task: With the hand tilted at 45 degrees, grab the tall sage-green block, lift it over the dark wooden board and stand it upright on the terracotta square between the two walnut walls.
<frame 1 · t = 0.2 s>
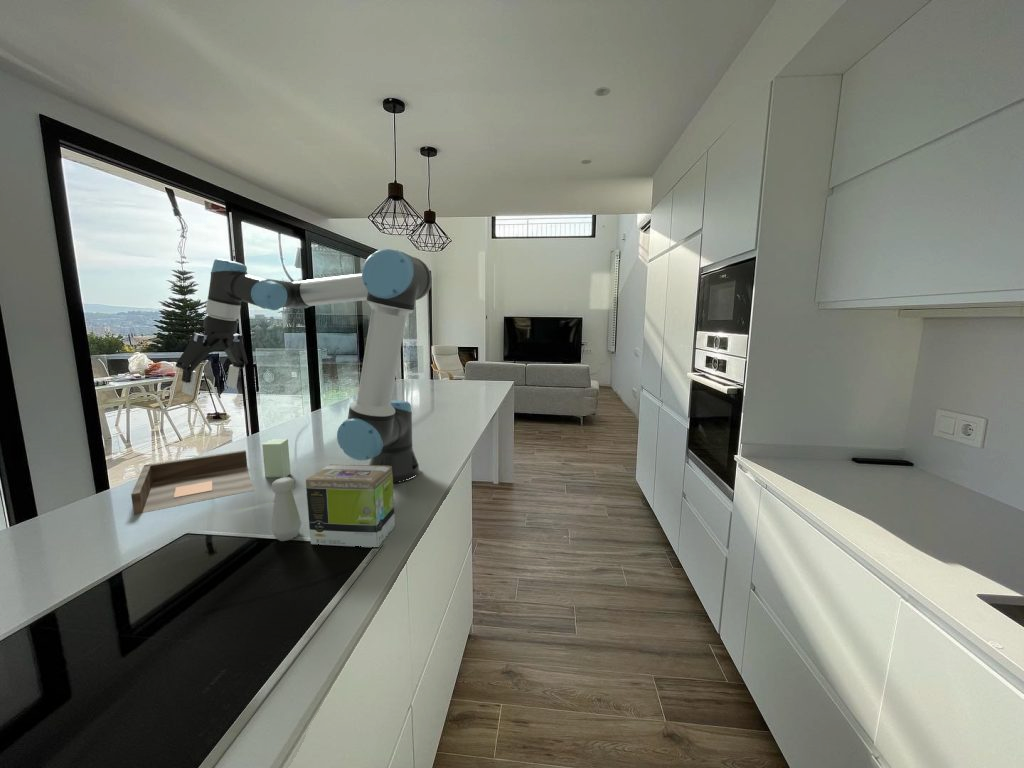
hand: (210, 390, 115), 27 cm above the worktop, tool tilted 15°, fingers open, 13 cm apart
sage block: (278, 477, 123), on the worktop
tea box: (354, 536, 90), on the worktop
salt shaker: (287, 537, 89), on the worktop
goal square: (194, 489, 111), resting on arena
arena: (199, 489, 113), on the worktop
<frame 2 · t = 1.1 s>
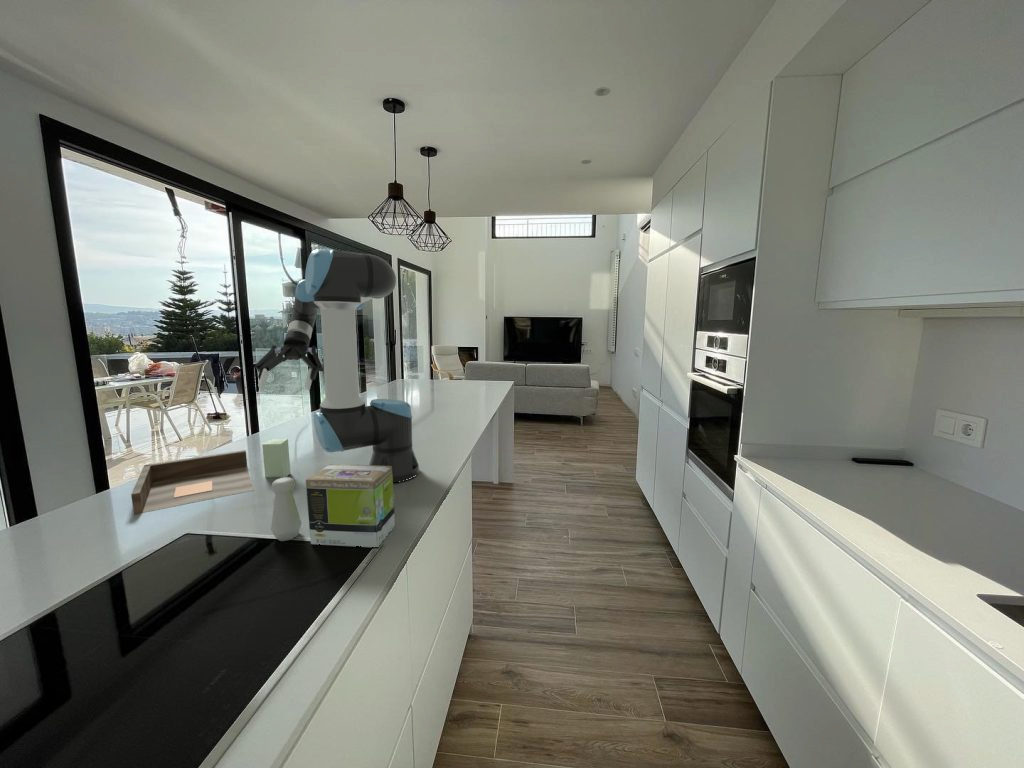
hand: (284, 387, 128), 26 cm above the worktop, tool tilted 45°, fingers open, 13 cm apart
nothing on the worktop moved.
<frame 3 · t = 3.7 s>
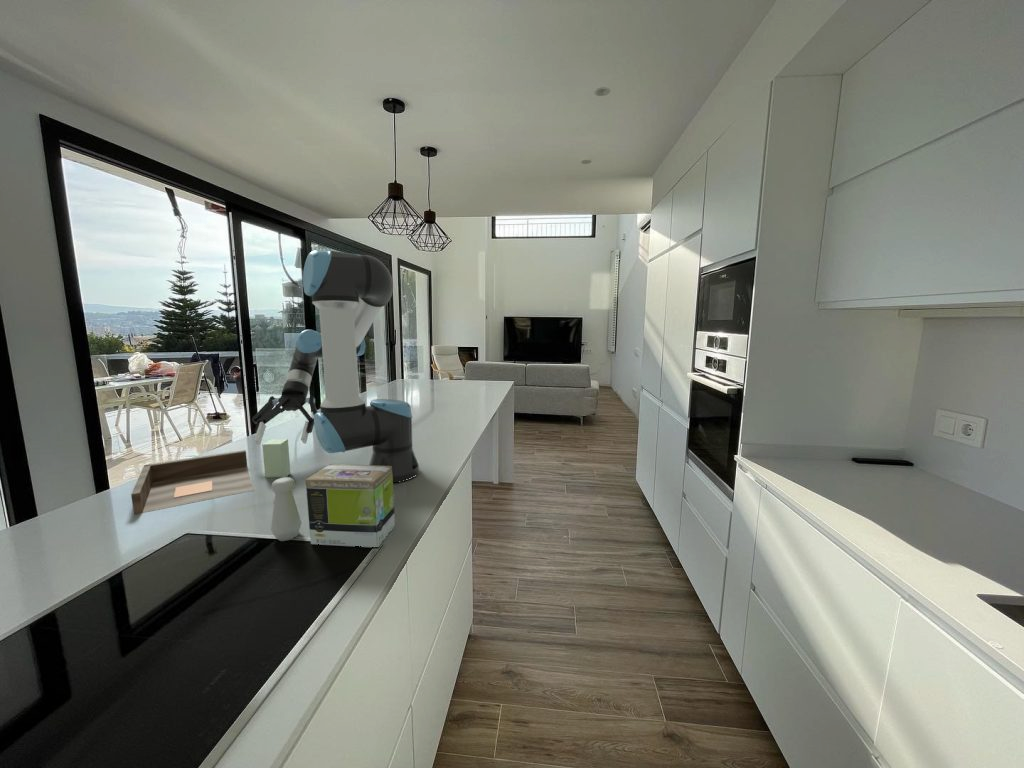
hand: (280, 442, 126), 9 cm above the worktop, tool tilted 45°, fingers open, 13 cm apart
nothing on the worktop moved.
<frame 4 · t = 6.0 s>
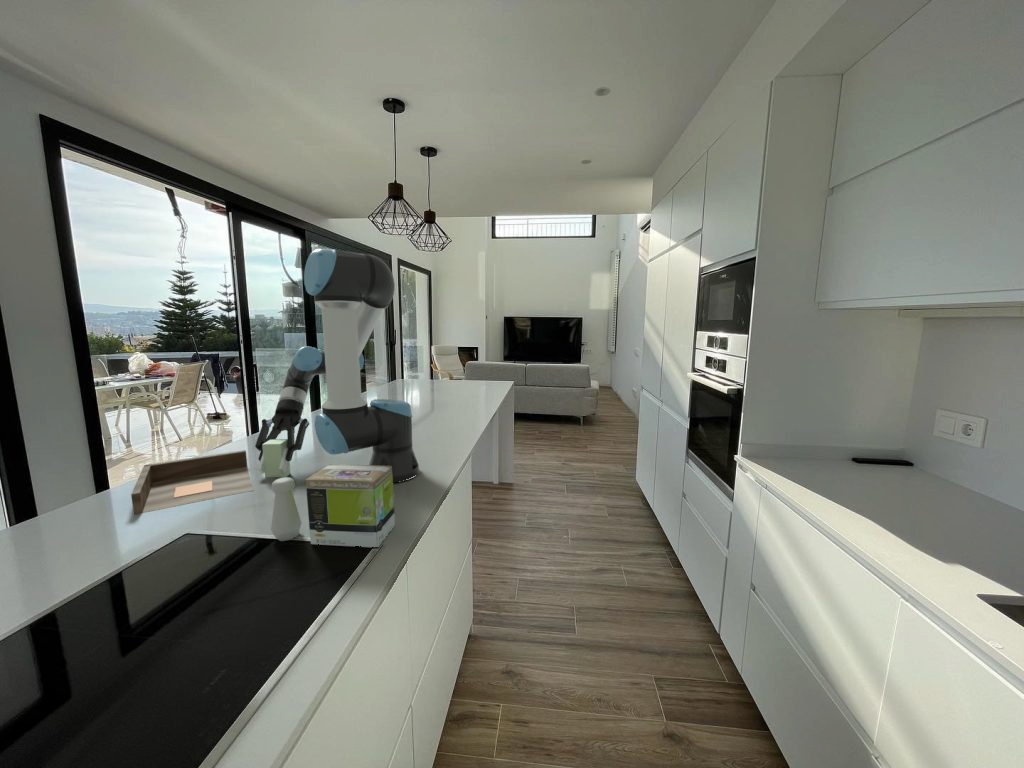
hand: (271, 470, 118), 3 cm above the worktop, tool tilted 45°, fingers closed on sage block, 5 cm apart
sage block: (278, 477, 123), on the worktop, touching gripper
everything else where it was.
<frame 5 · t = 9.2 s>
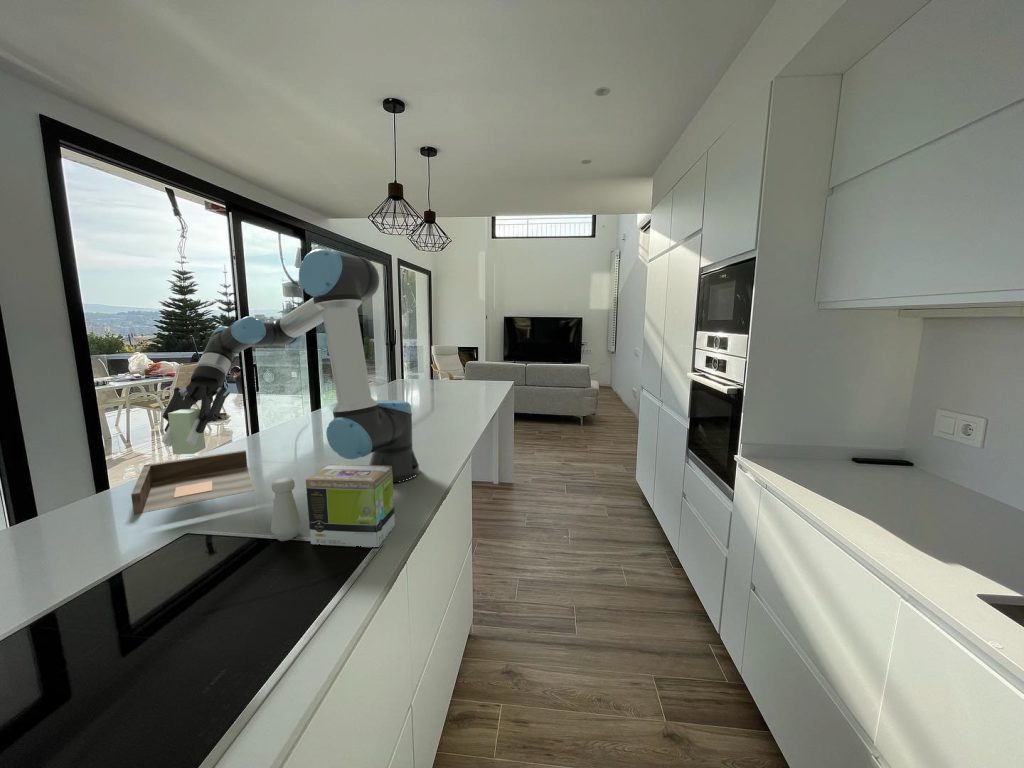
hand: (178, 443, 105), 15 cm above the worktop, tool tilted 45°, fingers closed on sage block, 5 cm apart
sage block: (189, 451, 109), point 12 cm above the worktop, touching gripper
everything else where it was.
when the fingers open (5 cm above the worktop, at t = 12.6 s): sage block stays where it is, resting on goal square.
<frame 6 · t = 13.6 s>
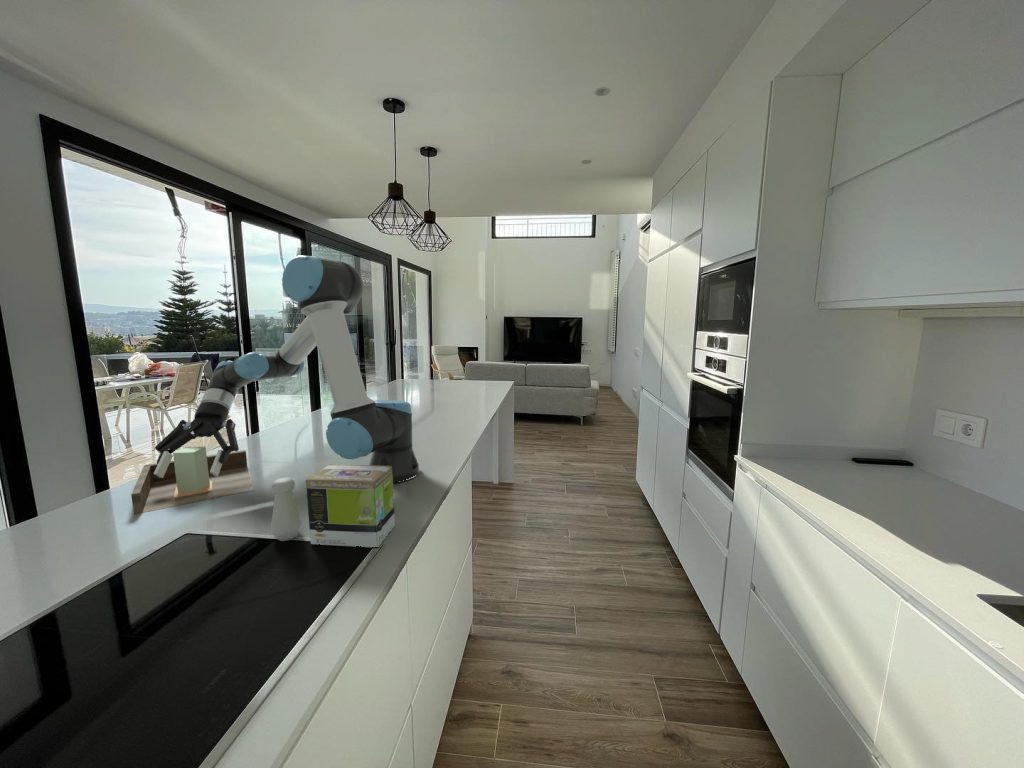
hand: (186, 475, 108), 6 cm above the worktop, tool tilted 45°, fingers open, 13 cm apart
sage block: (194, 488, 111), point 1 cm above the worktop, touching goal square
everything else where it was.
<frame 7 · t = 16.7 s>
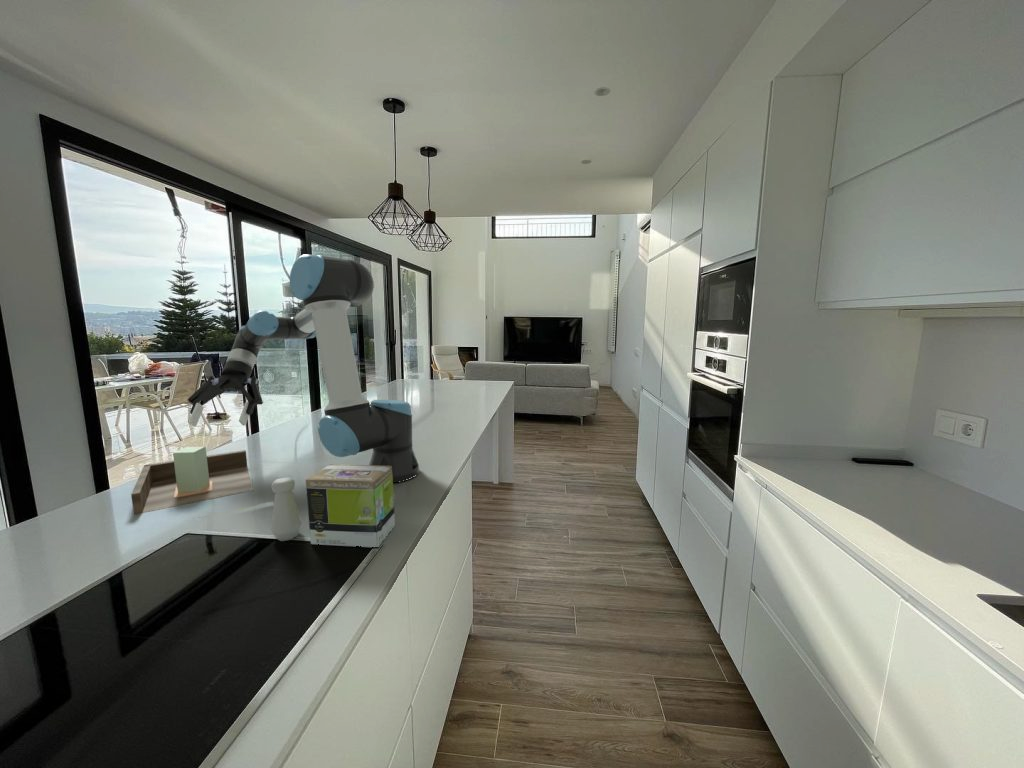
hand: (217, 423, 120), 16 cm above the worktop, tool tilted 45°, fingers open, 13 cm apart
nothing on the worktop moved.
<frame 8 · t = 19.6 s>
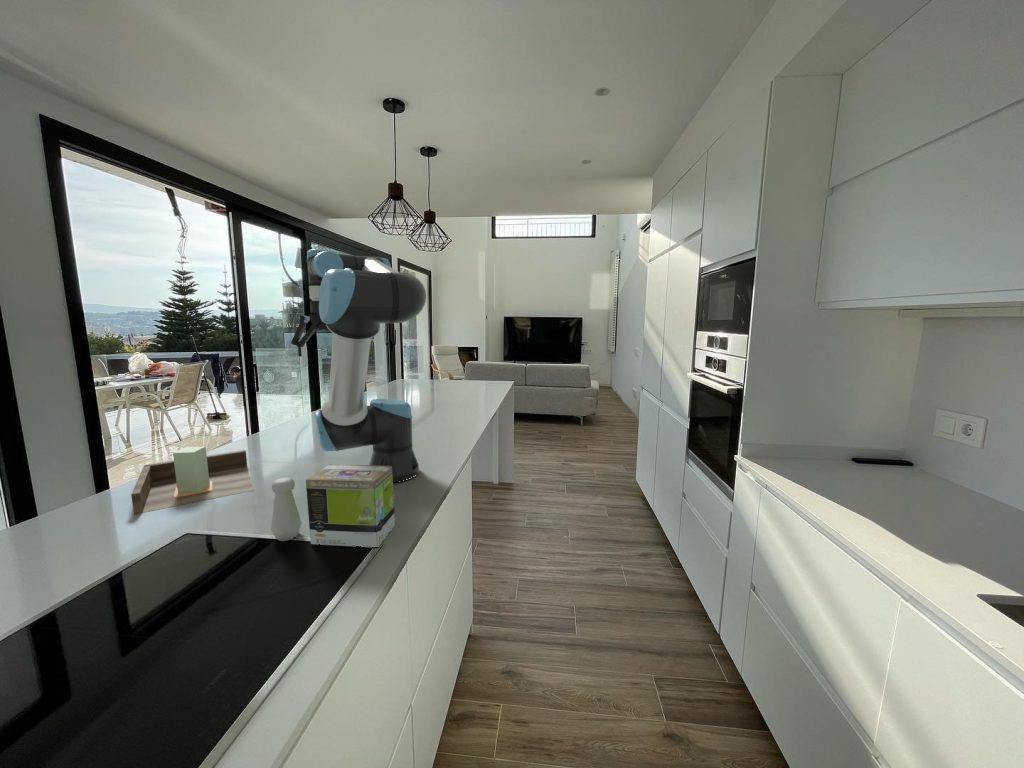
hand: (326, 366, 133), 32 cm above the worktop, tool pointing down, fingers open, 13 cm apart
nothing on the worktop moved.
at the end: sage block 0.1 cm off-centre on the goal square, point 0.2 cm above the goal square's base; sage block tilted 0°; the gripper is holding nothing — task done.
